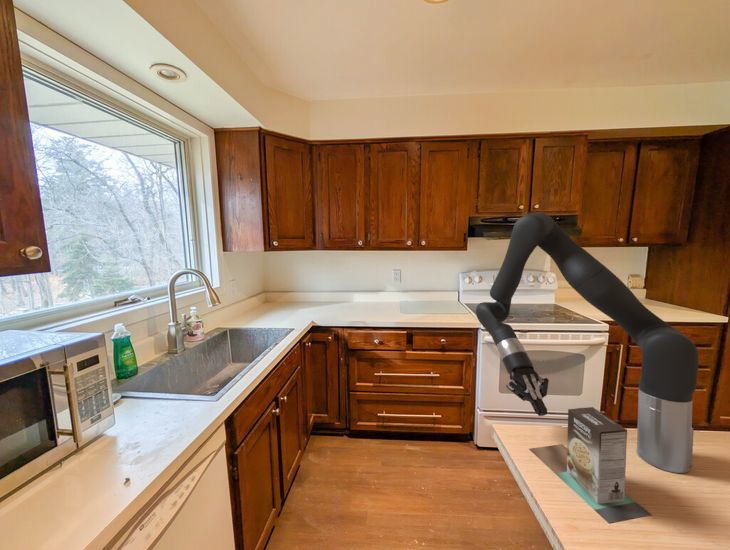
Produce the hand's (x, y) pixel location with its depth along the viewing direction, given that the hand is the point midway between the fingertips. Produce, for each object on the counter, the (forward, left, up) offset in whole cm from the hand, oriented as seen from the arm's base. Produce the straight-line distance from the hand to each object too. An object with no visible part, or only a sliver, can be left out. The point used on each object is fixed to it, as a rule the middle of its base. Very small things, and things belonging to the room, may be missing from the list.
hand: (543, 414), depth 79 cm
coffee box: (0, +15, -9) cm, 17 cm away
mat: (0, +12, -8) cm, 15 cm away
